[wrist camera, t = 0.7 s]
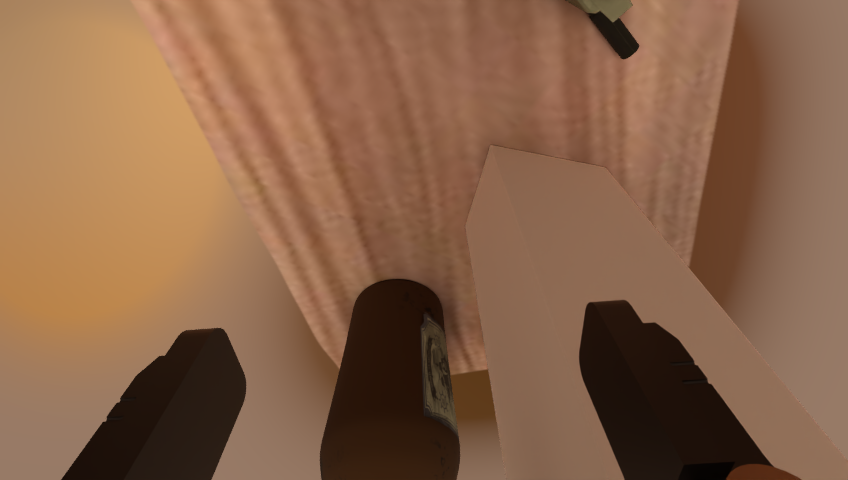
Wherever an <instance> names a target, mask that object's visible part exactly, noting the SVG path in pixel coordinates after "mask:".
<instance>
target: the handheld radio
mask: <svg viewBox="0 0 848 480" xmlns="http://www.w3.org/2000/svg"><path fill="white" fill-rule="evenodd" d="M566 1H568V2H569V3H571V4H573V5H575V6H576V7H578V8H580V9H581V10H583V11H585V12H587V13H588V14H589V15H590V16H589V17H590V19H591V20H592V21H593V22H594V24H595V25H596V26H597V28H598V29H599V30H600V31H601V33H602V34H603V35H604V37H605V38H606V39H607V41H608V42H609V43H610V44H611V46H612V47H613V48H614V50H615V51H616V52H617V53H618V55H619V56H620V57H621V59H626V58H628V57H630V56H631V55H633V54H634V53H635V52H636V51H637V50H638V48H639V44H638V43H637V41H636V40H635V39H634V37H633V36H632V35H631V33H630V32H629V31H628V29H627V28H626V27H625V25H624V24H623V23H622V21H621V20H620V19H619V17H620V16H621V15H622V14H624V13H625V12H626V11H627V10H628V9H629V8H630V7H631V6H633V5H632V3H631V1H630V0H566Z"/></svg>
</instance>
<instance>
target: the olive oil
mask: <svg viewBox="0 0 848 480" xmlns="http://www.w3.org/2000/svg"><path fill="white" fill-rule="evenodd" d="M459 463H460V444H459V436H458V429H457V422H456V415H455V408H454V401H453V393H452V386H451V379H450V370H449V362H448V355H447V346H446V337H445V330H444V320H443V311H442V306H441V303H440V301H439V299H438V298H437V297H436V295H435V294H434V293H433V292H432V291H430V290H429V289H428V288H426V287H424V286H422V285H420V284H418V283H415V282H411V281H406V280H388V281H383V282H379V283H377V284H374V285H372V286H370V287H369V288H367V289H366V290H364V291H363V292H362V293H361V294H360V295H359V297H358V298H357V300H356V302H355V305H354V309H353V313H352V318H351V323H350V327H349V332H348V337H347V341H346V346H345V350H344V354H343V358H342V362H341V367H340V371H339V375H338V379H337V384H336V387H335V391H334V395H333V399H332V404H331V407H330V412H329V415H328V420H327V423H326V427H325V431H324V436H323V439H322V444H321V451H320V469H321V478H322V480H456V479H457V475H458V470H459Z"/></svg>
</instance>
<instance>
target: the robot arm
mask: <svg viewBox="0 0 848 480" xmlns="http://www.w3.org/2000/svg"><path fill="white" fill-rule="evenodd" d="M579 365H580V371H581V375H582V378H583V381H584V384H585V386H586V389H587V391H588V393H589V396H590V398H591V400H592V403H593V405H594V408H595V410H596V412H597V415H598V417H599V420H600V422H601V424H602V427H603V429H604V431H605V434H606V436H607V439H608V441H609V443H610V446H611V448H612V451H613V453H614V455H615V458H616V460H617V462H618V465H619V467H620V470H621V472H622V474H623V477H624V479H625V480H802V479H800V478H798V477H797V476H795V475H793V474H791V473H789V472H787V471H784V470H781V469H779V468H776V467H774V466H773V465H772V464H771V463H770V462H769V461H768V459H767V458H766V457H765V456H764V454H763V453H762V452H761V450H760V449H759V448H758V446H757V445H756V443H755V442H754V441H753V439H752V438H751V437H750V435H749V434H748V433H747V431H746V430H745V429H744V427H743V426H742V425H741V423H740V422H739V420H738V419H737V418H736V416H735V415H734V414H733V412H732V411H731V410H730V408H729V407H728V406H727V404H726V403H725V402H724V400H723V399H722V397H721V396H720V395H719V393H718V392H717V391H716V389H715V388H714V387H713V385H712V384H709V383H708V379H707V377H706V376H705V374H704V373H703V372H702V370H701V369H700V368H699V366H698V365H695V363H694V360H693V358H692V357H691V356H690V354H689V353H688V351H687V350H686V349H685V347H684V346H683V345H682V343H681V342H680V341H679V339H677V338H676V337H675V336H673V335H672V334H671V333H669V332H668V331H666V330H665V329H664V328H662V327H661V326H660V325H658V324H657V323H656V322H652V323H643V322H642V321H641V319H640V318H639V316H638V315H637V313H636V312H635V310H634V309H633V307H632V306H631V304H630V303H629V302H628V301H626V300H613V301H599V302H589V303H588V304H587V306H586V309H585V315H584V322H583V329H582V336H581V342H580V349H579ZM245 394H246V379H245V375H244V372H243V370H242V368H241V365H240V363H239V361H238V359H237V356H236V354H235V352H234V349H233V347H232V345H231V343H230V340H229V338H228V336H227V334H226V332H225V331H224V330H223V329H221V328H212V329H198V330H186V331H184V332H182V333H181V334H180V335H179V336H178V338H177V339H176V340H175V342H174V343H173V345H172V346H171V348H170V349H169V351H168V352H167V354H166V355H165V356H159V357H158V358H157V359H155V361H153V362H152V363H151V364H150V365H148V366H147V367H146V368H145V369H144V370H142V371H141V372H140V373H139V374H138V375H137V376H136V377H135V378H134V380H133V381H132V382H131V384H130V385H129V387H128V388H127V389H126V391H125V392H124V394H123V395H122V396H121V398H120V399H121V401H120V402H119V403H116V405H115V406H114V407H113V409H112V410H111V412H110V413H109V414H108V416H107V421H106V422H103V423H102V424H101V425H100V427H99V428H98V430H97V431H96V432H95V434H94V435H93V436H92V438H91V439H90V441H89V442H88V443H87V445H86V446H85V448H84V449H83V450H82V452H81V453H80V454H79V456H78V457H77V459H76V460H75V461H74V463H73V464H72V466H71V467H70V468H69V470H68V471H67V472H66V474H65V475H64V477H63V478H62V479H61V480H211V479H212V477H213V474H214V472H215V470H216V467H217V465H218V463H219V460H220V457H221V455H222V453H223V450H224V448H225V446H226V443H227V441H228V438H229V436H230V434H231V431H232V429H233V427H234V424H235V422H236V419H237V417H238V415H239V412H240V410H241V407H242V405H243V402H244V399H245Z"/></svg>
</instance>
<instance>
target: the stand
mask: <svg viewBox="0 0 848 480" xmlns="http://www.w3.org/2000/svg"><path fill="white" fill-rule="evenodd" d="M465 230H466V236H467V242H468V248H469V254H470V260H471V266H472V273H473V279H474V285H475V291H476V297H477V303H478V309H479V315H480V322H481V328H482V334H483V340H484V346H485V352H486V358H487V364H488V371H489V377H490V383H491V389H492V394H493V401H494V407H495V413H496V419H497V425H498V432H499V438H500V444H501V450H502V456H503V461H504V468H505V475H506V480H625V479H624V477H623V474H622V472H621V470H620V467H619V465H618V462H617V460H616V458H615V455H614V453H613V451H612V448H611V446H610V443H609V441H608V439H607V436H606V434H605V431H604V429H603V427H602V424H601V422H600V420H599V417H598V415H597V412H596V410H595V408H594V405H593V403H592V400H591V398H590V396H589V393H588V391H587V389H586V386H585V384H584V381H583V378H582V375H581V371H580V365H579V349H580V342H581V336H582V329H583V322H584V315H585V309H586V306H587V304H588V303H589V302H599V301H613V300H626V301H628V302H629V303H630V304H631V306H632V307H633V309H634V310H635V312H636V313H637V315H638V316H639V318H640V319H641V321H642V322H643V323H652V322H656V323H657V324H658V325H660V326H661V327H662V328H664V329H665V330H666V331H668V332H669V333H671V334H672V335H673V336H675V337H676V338H677V339H679V341H680V342H681V343H682V345H683V346H684V347H685V349H686V350H687V351H688V353H689V354H690V356H691V357H692V358H693V360H694V363H695V365H698V366H699V368H700V369H701V370H702V372H703V373H704V374H705V376H706V377H707V379H708V383H709V384H712V385H713V387H714V388H715V389H716V391H717V392H718V393H719V395H720V396H721V397H722V399H723V400H724V402H725V403H726V404H727V406H728V407H729V408H730V410H731V411H732V412H733V414H734V415H735V416H736V418H737V419H738V420H739V422H740V423H741V425H742V426H743V427H744V429H745V430H746V431H747V433H748V434H749V435H750V437H751V438H752V439H753V441H754V442H755V443H756V445H757V446H758V448H759V449H760V450H761V452H762V453H763V454H764V456H765V457H766V458H767V459H768V461H769V462H770V463H771V464H772V465H773V466H774V467H776V468H779V469H781V470H784V471H787V472H789V473H791V474H793V475H795V476H797V477H798V478H800V479H802V480H848V460H847V459H846V458H845V457H844V455H843V454H842V453H841V452H840V451H839V449H838V448H837V447H836V446H835V445H834V444H833V442H832V441H831V440H830V439H829V437H828V436H827V435H826V434H825V432H824V431H823V430H822V429H821V428H820V426H819V425H818V424H817V423H816V422H815V420H814V419H813V418H812V417H811V415H810V414H809V413H808V412H807V411H806V409H805V408H804V407H803V406H802V405H801V403H800V402H799V401H798V400H797V399H796V397H795V396H794V395H793V394H792V392H791V391H790V390H789V389H788V388H787V386H786V385H785V384H784V383H783V382H782V380H781V379H780V378H779V377H778V376H777V374H776V373H775V372H774V371H773V369H772V368H771V367H770V366H769V365H768V363H767V362H766V361H765V360H764V359H763V357H762V356H761V355H760V354H759V352H757V350H756V349H755V348H754V346H753V345H752V344H751V343H750V342H749V340H748V339H747V338H746V337H745V336H744V334H743V333H742V332H741V331H740V329H739V328H738V327H737V326H736V325H735V323H734V322H733V321H732V320H731V319H730V318H729V316H728V315H727V314H726V313H725V311H724V310H723V309H722V308H721V306H720V305H719V304H718V303H717V302H716V300H715V299H714V298H713V297H712V296H711V294H710V293H709V292H708V291H707V290H706V288H705V287H704V286H703V285H702V284H701V282H700V281H699V280H698V279H697V277H696V276H695V275H694V274H693V273H692V271H691V270H690V269H689V268H688V267H687V265H686V264H685V263H684V262H683V260H682V259H681V258H680V257H679V256H678V254H677V253H676V252H675V251H674V250H673V248H672V247H671V246H670V245H669V244H668V242H667V241H666V240H665V239H664V237H663V236H662V235H661V234H660V233H659V231H658V230H657V229H656V228H655V227H654V225H653V224H652V223H651V222H650V220H649V219H648V218H647V217H646V216H645V214H644V213H643V212H642V211H641V210H640V208H639V207H638V206H637V205H636V204H635V202H634V201H633V200H632V199H631V197H630V196H629V195H628V194H627V193H626V191H625V190H624V189H623V188H622V187H621V185H620V184H619V183H618V182H617V181H616V179H615V178H614V177H613V176H612V174H611V173H610V172H609V171H608V170H607V168H606V167H602V166H597V165H592V164H586V163H581V162H576V161H571V160H566V159H561V158H556V157H551V156H546V155H541V154H536V153H530V152H525V151H520V150H515V149H510V148H505V147H500V146H495V145H490V148H489V151H488V155H487V158H486V161H485V164H484V167H483V170H482V174H481V177H480V180H479V183H478V186H477V189H476V193H475V196H474V199H473V202H472V205H471V208H470V211H469V215H468V218H467V221H466V224H465Z"/></svg>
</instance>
